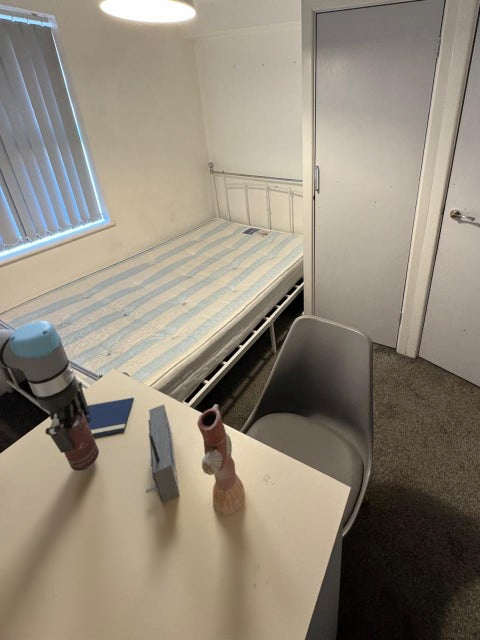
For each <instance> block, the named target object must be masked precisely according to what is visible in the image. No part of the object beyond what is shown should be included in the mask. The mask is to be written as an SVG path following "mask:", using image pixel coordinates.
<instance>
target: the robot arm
mask: <svg viewBox="0 0 480 640" xmlns="http://www.w3.org/2000/svg"><path fill="white" fill-rule="evenodd" d="M3 368H4V369H20V370H21V371H22V372H23V374H24V376H25V377H26V380H27V382H28V384H29V387H30V389H31V392H32V393H33V394H34V395H35V398H36V400H37V403H38V404H39V406H40V407H41V409H43V410H45V411H47V412H49V418H50V420H51V424H50V426H49V427H46V429H45V431H44V432H45V435H48V436H49V437H50V438H51V439H52V441H53V442H54V444H55V445H56V448H57V449H58V450H59V452H60V453H62V454H63V453H64V452H68V451H73V450H74V449H75V446H74V443H73V441H72V439H71V438H70V436H69V434H68V433H67V431H66V429H68V428H67V427H69V428H72V426H73V424H74V422H73V419H74V418H75V417H74V413H73V412H80V413H82V414H83V415H84V416H85V417H86V416H87V415H89V409H88V405H89V404H88V402H87V400H86V396H85V393H84V390H83V382H81V381H80V382H79V381H78V380H77V377H76V375H75V373H74V370H73V369H72V365H71V364H70V360H69V358H68V355H67V353H66V349H65V348H64V345H63V342H62V339H61V336H60V334H59V333H58V331H57V329H56V327H55V326H54V324H53V323H51V322H49V321H47V320H38V321H36V322H34V321H33V322H28V323H26V324H24V325H22V326H19V327H18V328H17V329H8V328H3V327H0V370H1V369H3ZM82 410H84V411H82ZM86 420H87V422H88V423H90V421H91V418H87V417H86Z"/></svg>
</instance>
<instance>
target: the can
mask: <svg viewBox="0 0 480 640" xmlns="http://www.w3.org/2000/svg"><path fill="white" fill-rule="evenodd" d="M73 413H74V417H75V418H74V419H73V422H74V424H73V426H72V428H69V427H67V428H68V429H66V431H67V433H68V434H69V436H70V438H71V439H72V441H73V443H74V446H75V449H74V450H73V451H68V452H63V453H64V455H65V457H66V459H67V462H68V464H69V466H70V468H71V469H72V470H73V471H77V472H79V471H84V470H87V469H88V468H90V467H91V466H92V465H94V463H96V460H97V459H98V457H99V453H100V449H99V447H98V445H97V442H96V439H95V438H94V437H93V435H92V432H91V430H90V427H89V425H88V422H87V420H86V417H85V416H84V415H83V414H82V413H80V412H73Z"/></svg>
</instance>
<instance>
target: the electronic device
mask: <svg viewBox="0 0 480 640" xmlns="http://www.w3.org/2000/svg"><path fill="white" fill-rule="evenodd" d="M148 413H149V415H148V416H149V419H148V437H149V450H150V468H151V475H152V476H151V478H152V481H153V482H154V483H153V484H152V485H151V486H149V487H147V488H145V493H146V494H148V493H150V492H153V491H157V494H158V497H159V500H160V502H161V503H165V502H167V501H169V500H172V499H173V498H176V497H178V496H180V488H179V481H178V473H177V465H176V464H177V463H176V457H175V451H174V450H175V448H174V442H173V435H172V434H173V433H172V428H171V425H170V421H169V417H168V414H167V410H166V406H165V404H161V405H159V406H155V407H153V408H151V409H149V410H148Z"/></svg>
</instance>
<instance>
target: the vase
mask: <svg viewBox="0 0 480 640" xmlns="http://www.w3.org/2000/svg"><path fill="white" fill-rule="evenodd" d="M219 409H220V406H219V404H216V403H215V404H214V405H213V406H212V407H211V408H208V409H207V410H205V411H203V412H202V413H201V414H200V415H199V416H198V418H197V424H196V425H197V427H198V429H199V431H200V433H201V436H202V439H203V447H204V455H203V458H202V460H201V468H202V471H203V473H204V474H206V475H208V476H213V475H214V480H215V482H214V484H213V488H212V507H213V509H214V510H215V511H216V512H217V513H218V514H221V515H225V516H229V515H231V514H233V513H236V512H237V511H238V510H239V509H240V508H241V507H242V505H243V503H244V502H243V501H244V497H245V487H244V484H243V482H242V480H241V479H240V478H239V476H238V475H237V473H236V464H235V460H234V459H233V457H232V451H233V444H232V439H231V436H230V435H229V434H228V433H227V432H226V428H225V424H224V422H223V418H222V414H221V412H220V411H219Z"/></svg>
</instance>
